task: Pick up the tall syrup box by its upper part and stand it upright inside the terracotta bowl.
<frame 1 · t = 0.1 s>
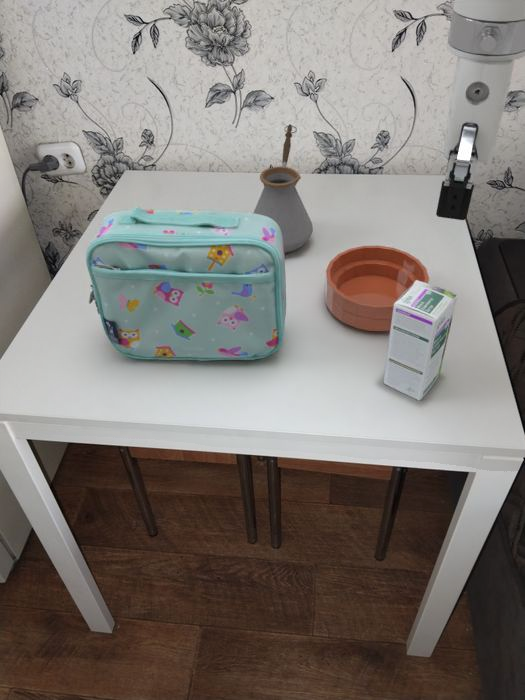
hand: (455, 195, 68), 25 cm above the table, tool pointing down, fingers open, 9 cm apart
syrup box: (410, 381, 81), on the table
coffee pot: (284, 227, 109), on the table
bowl: (373, 302, 93), on the table
lunch box: (196, 343, 88), on the table
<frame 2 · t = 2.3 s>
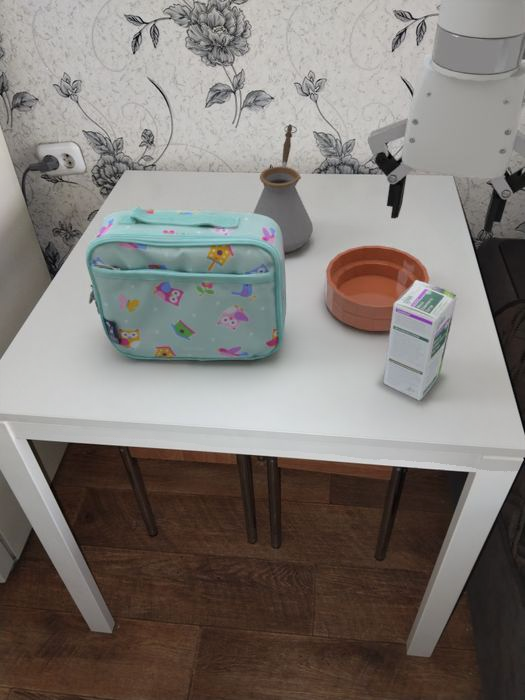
hand: (441, 218, 63), 25 cm above the table, tool pointing down, fingers open, 9 cm apart
nothing on the table moved.
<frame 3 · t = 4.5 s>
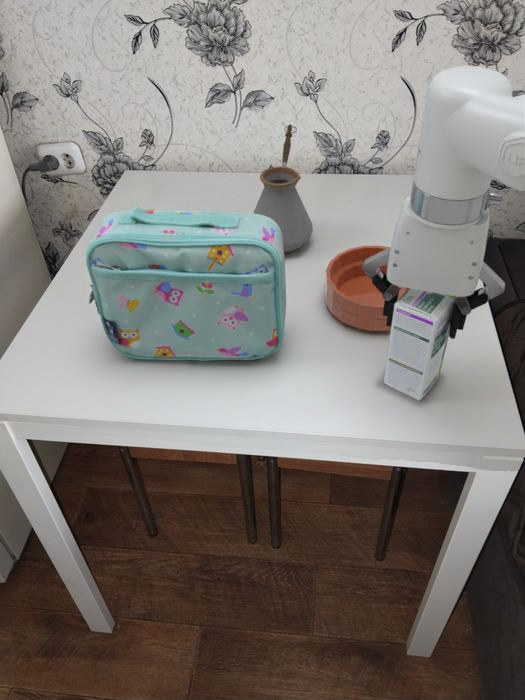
hand: (421, 324, 74), 10 cm above the table, tool pointing down, fingers closed on syrup box, 7 cm apart
syrup box: (410, 381, 81), on the table, touching gripper
everything else where it was.
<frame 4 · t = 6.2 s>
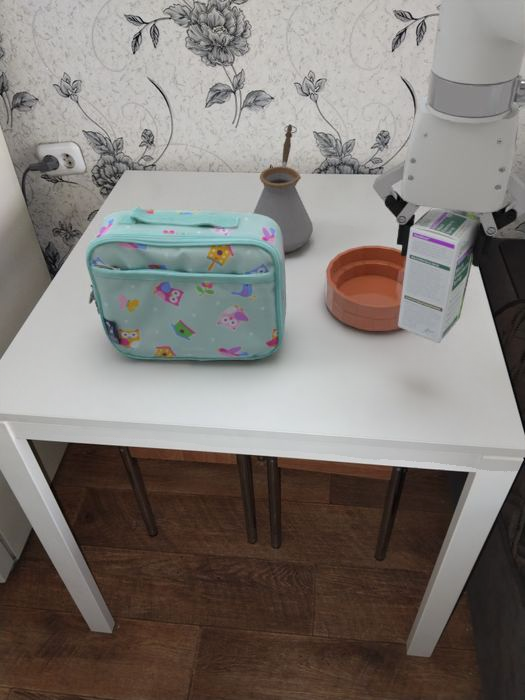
hand: (440, 253, 66), 21 cm above the table, tool pointing down, fingers closed on syrup box, 7 cm apart
syrup box: (427, 324, 73), point 11 cm above the table, touching gripper
everything else where it was.
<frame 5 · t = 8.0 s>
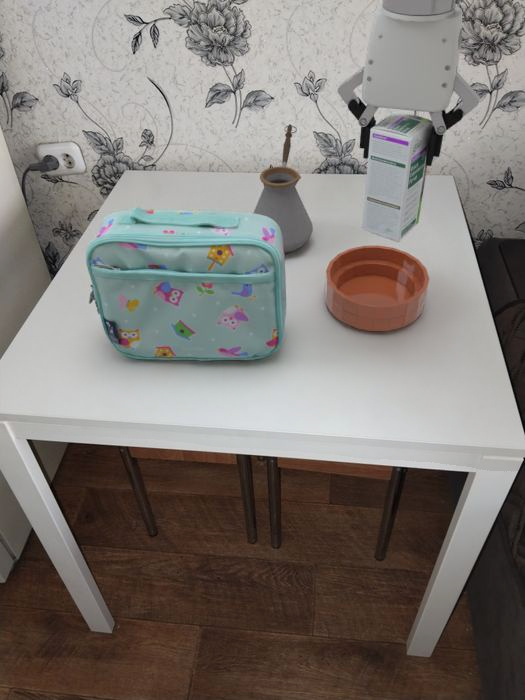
hand: (398, 156, 73), 25 cm above the table, tool pointing down, fingers closed on syrup box, 7 cm apart
syrup box: (389, 228, 81), point 15 cm above the table, touching gripper
everything else where it was.
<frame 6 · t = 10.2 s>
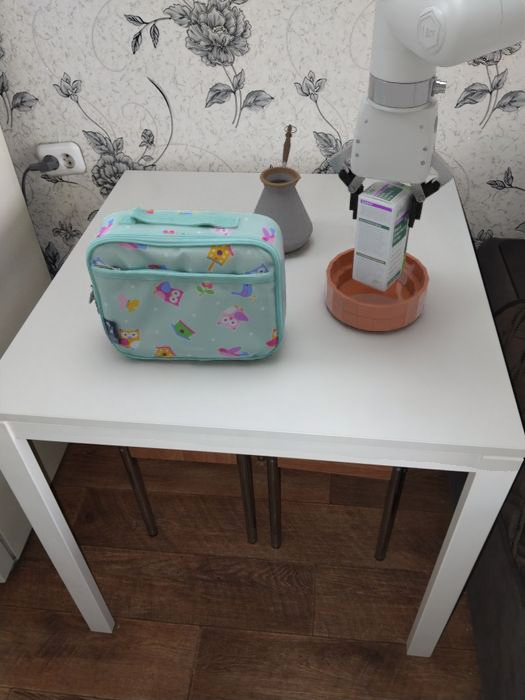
hand: (384, 217, 82), 15 cm above the table, tool pointing down, fingers closed on syrup box, 7 cm apart
syrup box: (376, 277, 89), point 5 cm above the table, touching gripper
everything else where it was.
when the fingers open (11 cm above the table, at t = 11.9 s): syrup box stays where it is, resting on bowl.
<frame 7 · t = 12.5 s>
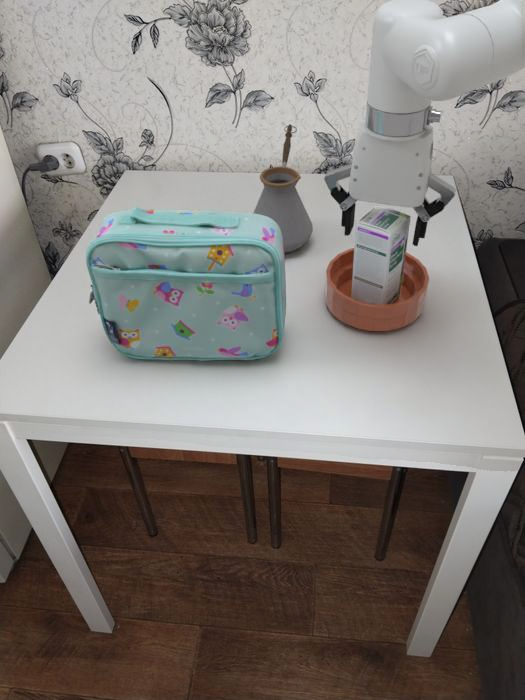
hand: (382, 235, 84), 12 cm above the table, tool pointing down, fingers open, 9 cm apart
syrup box: (374, 299, 92), point 1 cm above the table, touching bowl
everything else where it was.
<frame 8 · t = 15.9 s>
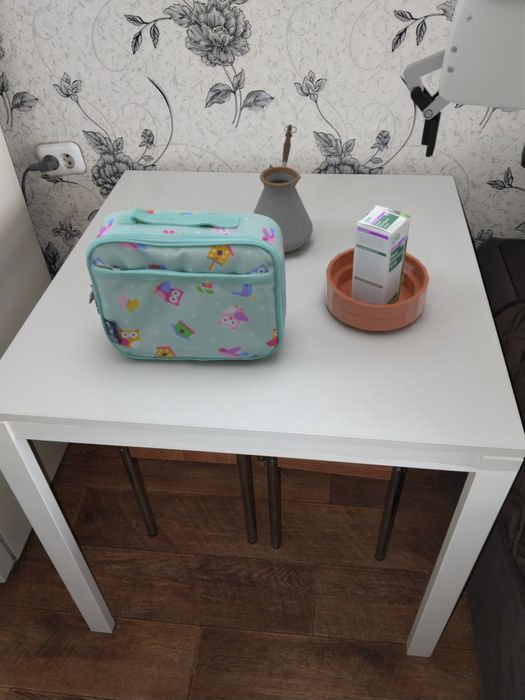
hand: (476, 156, 62), 30 cm above the table, tool pointing down, fingers open, 9 cm apart
nothing on the table moved.
at the end: syrup box inside the target area in the bowl (0.1 cm from its centre), point 0.6 cm above the bowl's base; syrup box tilted 0°; the gripper is holding nothing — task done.
